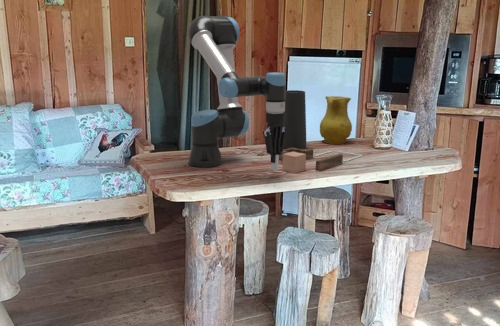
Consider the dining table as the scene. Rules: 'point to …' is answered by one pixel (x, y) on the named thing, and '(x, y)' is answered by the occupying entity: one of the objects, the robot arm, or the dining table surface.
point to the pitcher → (336, 121)
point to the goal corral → (341, 152)
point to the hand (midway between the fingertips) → (274, 170)
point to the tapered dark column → (295, 119)
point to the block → (294, 162)
